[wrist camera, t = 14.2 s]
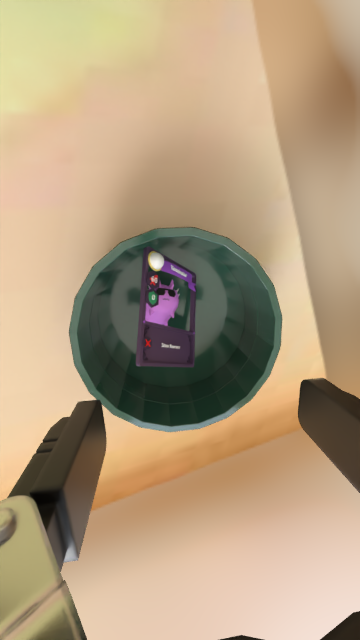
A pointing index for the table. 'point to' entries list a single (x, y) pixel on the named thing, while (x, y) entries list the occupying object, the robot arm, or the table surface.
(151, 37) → the table surface
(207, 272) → the bowl
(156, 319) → the game card
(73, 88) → the table surface
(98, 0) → the table surface
